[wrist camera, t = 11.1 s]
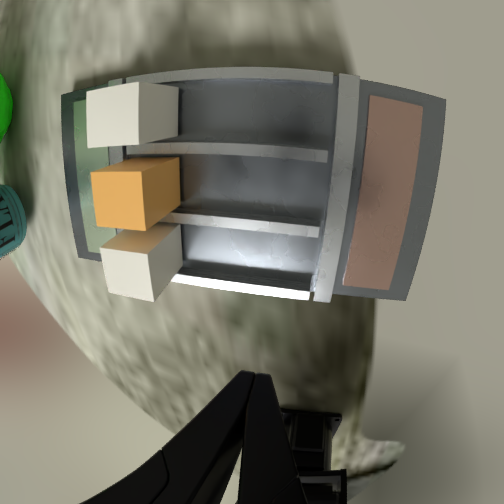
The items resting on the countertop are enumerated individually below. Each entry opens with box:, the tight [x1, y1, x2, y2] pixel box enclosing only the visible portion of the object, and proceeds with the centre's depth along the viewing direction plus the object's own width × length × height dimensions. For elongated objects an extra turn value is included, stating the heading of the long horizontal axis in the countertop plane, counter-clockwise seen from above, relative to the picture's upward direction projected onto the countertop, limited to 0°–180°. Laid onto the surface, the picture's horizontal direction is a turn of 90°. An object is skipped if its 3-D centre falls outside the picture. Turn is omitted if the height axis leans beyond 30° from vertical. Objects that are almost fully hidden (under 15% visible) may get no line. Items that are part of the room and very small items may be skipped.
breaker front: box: [86, 82, 179, 148], centre depth 13 cm, size 3×3×4 cm
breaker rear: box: [100, 222, 183, 302], centre depth 16 cm, size 3×3×4 cm
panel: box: [61, 67, 446, 303], centre depth 16 cm, size 13×24×2 cm, turn 88°
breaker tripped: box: [90, 157, 181, 231], centre depth 15 cm, size 3×3×4 cm
